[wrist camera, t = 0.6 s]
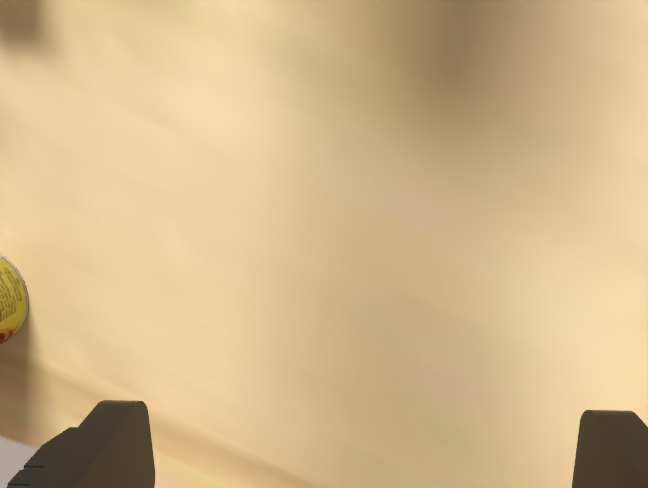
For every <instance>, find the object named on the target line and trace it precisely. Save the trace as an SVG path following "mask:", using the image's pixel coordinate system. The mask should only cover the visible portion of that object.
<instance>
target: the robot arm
mask: <svg viewBox="0 0 648 488" xmlns="http://www.w3.org/2000/svg"><path fill="white" fill-rule="evenodd" d="M154 485H155V466H154V458H153V449H152V441H151V432H150V424H149V416H148V410H147V406H146V404H145V403H144V402H143V401H112V400H103V401H101V402H99V403H98V404H97V405H96V407H95V408H94V409H93V410H92V411H91V412H90V414H89V415H88V416H87V417H86V418H85V420H84V421H83V422H82V423H81V424H80V425H79V427H78V428H77V427H70V428H68V429H67V430H65V431H63V432H62V433H60V434H59V435H57V436H56V437H54V438H53V439H51V440H50V441H48V442H47V443H45V444H43V445H42V446H41V448H40V449H39V450H38V451H37V452H36V453H35V454H34V455H33V457H31V459H30V460H29V461H28V462H27V463H26V464H25V465H24V469H23V470H20V471H19V472H18V473H17V474H16V475H15V476H14V477H13V478H12V480H11V481H10V482H9V483H8V486H7V488H154ZM572 488H648V427H647V426H646V425H645V424H644V422H643V421H642V420H641V419H640V418H639V417H638V416H637V415H636V414H635V413H634V412H632V411H609V410H586V411H585V412H584V413H583V414H582V416H581V420H580V426H579V434H578V442H577V450H576V458H575V466H574V474H573V483H572Z"/></svg>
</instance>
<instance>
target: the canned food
mask: <svg viewBox="0 0 648 488" xmlns="http://www.w3.org/2000/svg"><path fill="white" fill-rule="evenodd" d="M27 311H28V293H27V290H26V287H25V283H24V280H23V279H22V277H21V275H20V274H19V272H18V270H17V269H16V267H15V266H14V265H13V264H12V263H11V262H10V261H9V260H8V259H7V258H6V257H5V256H3V255H2V254H0V344H1V343H3V342H4V341H6V340H7V339H9V338H10V337H11V336H13V335H14V334H15V333H16V332H17V331H18V330H19V329H20V328H21V326H22V324H23V323H24V321H25V319H26V315H27Z"/></svg>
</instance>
